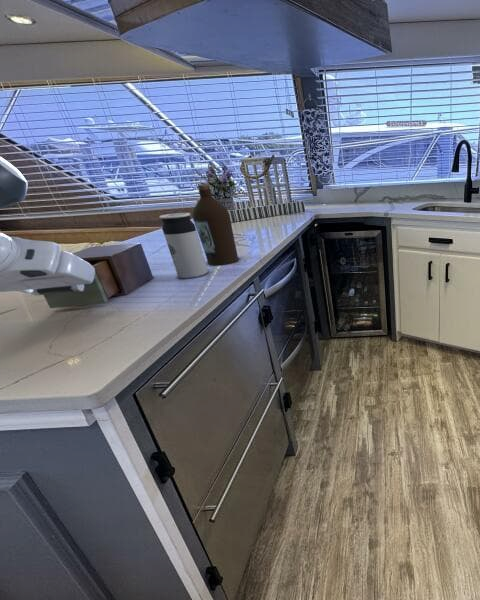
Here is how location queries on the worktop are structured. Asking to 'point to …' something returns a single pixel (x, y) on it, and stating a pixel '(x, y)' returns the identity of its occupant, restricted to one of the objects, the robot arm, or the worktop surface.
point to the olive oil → (214, 229)
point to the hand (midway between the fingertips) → (61, 290)
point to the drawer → (85, 288)
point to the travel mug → (184, 245)
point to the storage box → (122, 264)
